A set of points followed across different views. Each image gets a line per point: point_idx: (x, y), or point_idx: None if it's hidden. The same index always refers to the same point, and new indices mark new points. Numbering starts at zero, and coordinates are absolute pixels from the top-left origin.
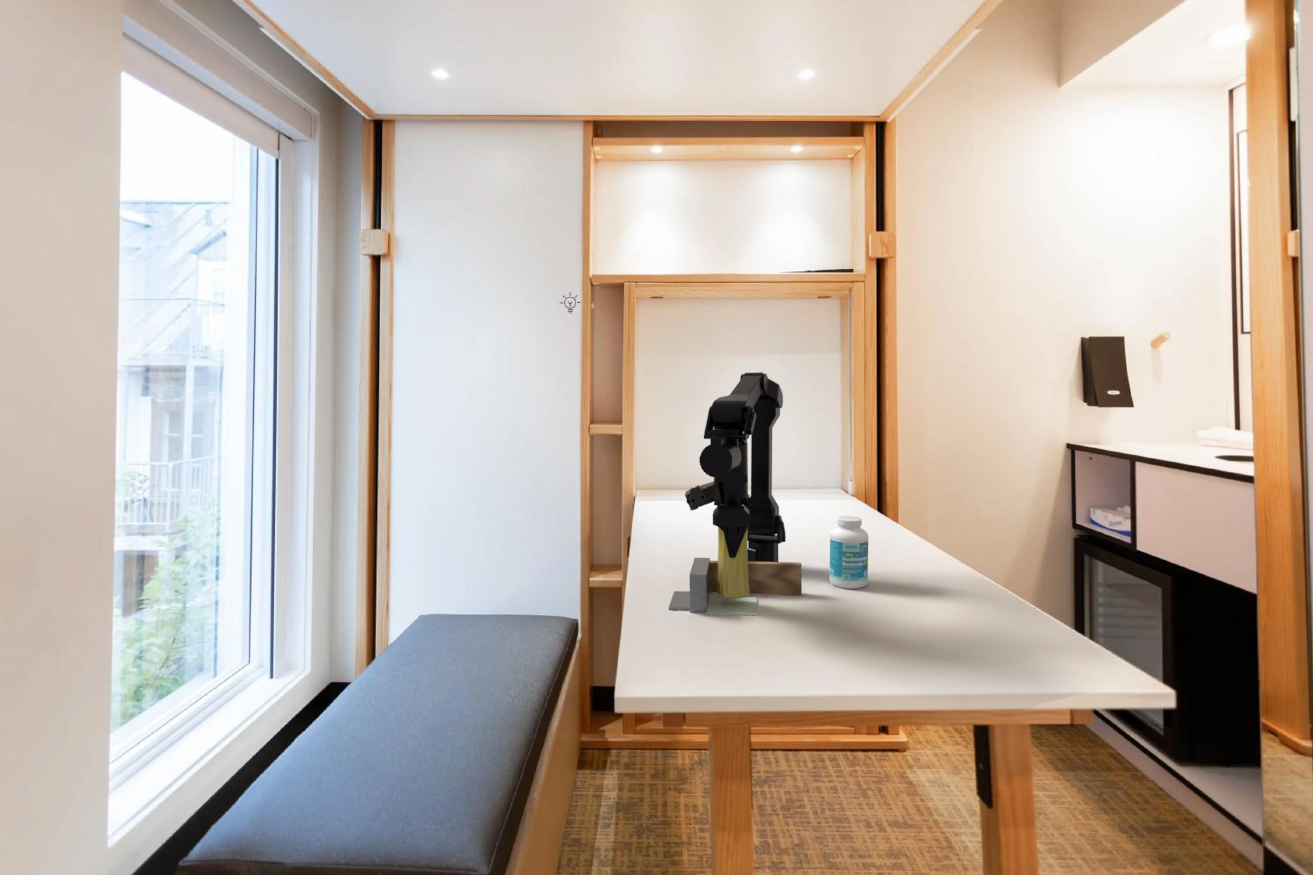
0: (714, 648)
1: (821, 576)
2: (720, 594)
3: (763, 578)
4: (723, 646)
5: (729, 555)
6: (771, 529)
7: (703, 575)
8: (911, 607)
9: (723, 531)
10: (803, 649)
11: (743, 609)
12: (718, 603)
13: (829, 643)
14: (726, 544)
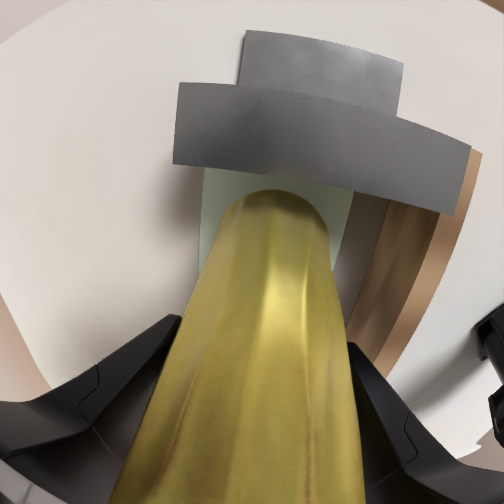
0: (34, 167)
1: (412, 402)
2: (238, 199)
3: (360, 340)
4: (42, 183)
5: (163, 320)
6: (499, 419)
7: (174, 150)
8: None
9: (28, 401)
10: (66, 306)
11: None
12: (287, 185)
13: (96, 343)
14: (113, 352)
